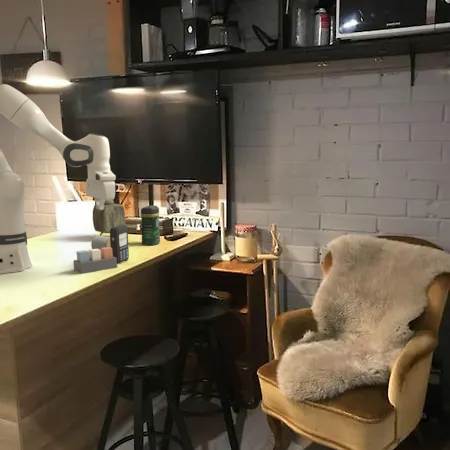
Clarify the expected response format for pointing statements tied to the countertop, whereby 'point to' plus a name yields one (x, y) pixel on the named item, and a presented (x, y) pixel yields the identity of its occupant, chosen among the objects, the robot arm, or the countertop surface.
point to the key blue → (82, 256)
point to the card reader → (119, 243)
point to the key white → (94, 254)
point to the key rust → (106, 252)
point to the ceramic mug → (100, 242)
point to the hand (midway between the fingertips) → (100, 209)
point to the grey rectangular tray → (95, 265)
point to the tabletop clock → (108, 217)
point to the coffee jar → (150, 225)
